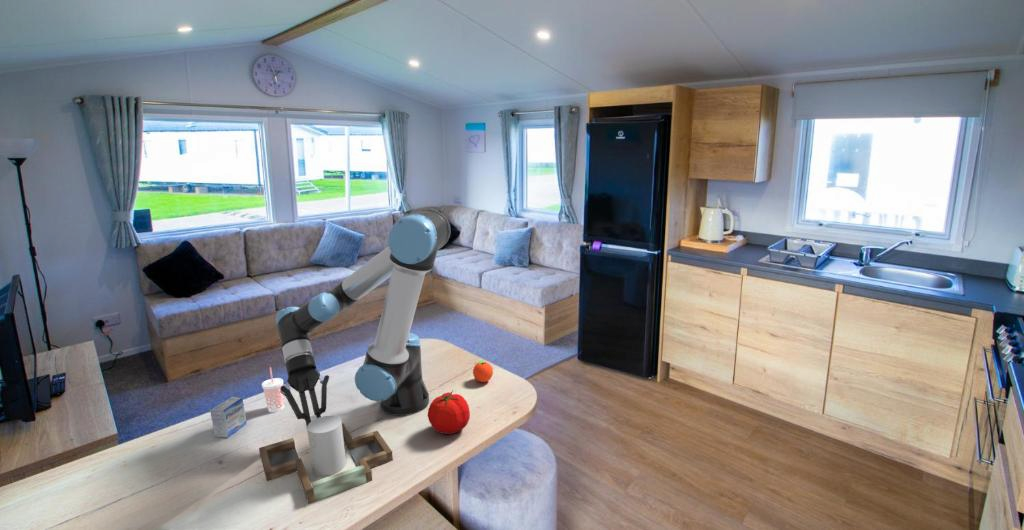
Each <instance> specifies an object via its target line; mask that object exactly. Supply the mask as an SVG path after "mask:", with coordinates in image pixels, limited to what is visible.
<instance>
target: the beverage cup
mask: <svg viewBox="0 0 1024 530" xmlns="http://www.w3.org/2000/svg"><path fill="white" fill-rule="evenodd" d="M269 373H270V379H267V380H264V381H262V383H261V387H262V389H263V393H264V397H265V402H266V403H265V404H266V407H267V410H268V412H270V413H278V412H281V411H282V410H283V409H285V401H284V399H285V397H284V395H283V394H282V393H281V392H280V388H281V386H284V379H283V378H281V377H275V378H274V376H273V371H272V367H271V366H270V367H269ZM280 410H281V411H280Z"/></svg>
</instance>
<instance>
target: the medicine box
mask: <svg viewBox="0 0 1024 530" xmlns="http://www.w3.org/2000/svg"><path fill="white" fill-rule="evenodd" d="M209 412H210V417H211V421H212V427H213V433H214V437H218V438H226V437H227V438H230V437H231V436H232V435H233V434H235V433H236V432H237V431H239V430H240V429H242V428H243V427H244V426H245V425H247V419H246V411H245V404H244V399H243V398H242V397H238V396H237V397H236V396H229V397H228V398H227V399H225V400H223V401H222V402H220V403H219V404H217V405H216V406H214V407H213V408H211V409H210V410H209Z"/></svg>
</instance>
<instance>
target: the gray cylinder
mask: <svg viewBox="0 0 1024 530" xmlns="http://www.w3.org/2000/svg"><path fill="white" fill-rule="evenodd" d="M342 423H343V422H342V419H341V418H340V417H339V416H337V415H323V416H321V417H319V418H317V419H315V420H313V421H311V422H310V423H309V424H308V426H306V429H307V437H308V443H309V444H308V445H309V452H310V459H311V467H312V473H313V474H314V475H317V476H318V477H319V476H320V477H329V476H332V475H335V474H338V473H340V472H342V470H343V469H344V468H345V467H346V465H347V461H346V449H345V443H344V440H343V431H342Z"/></svg>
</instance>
